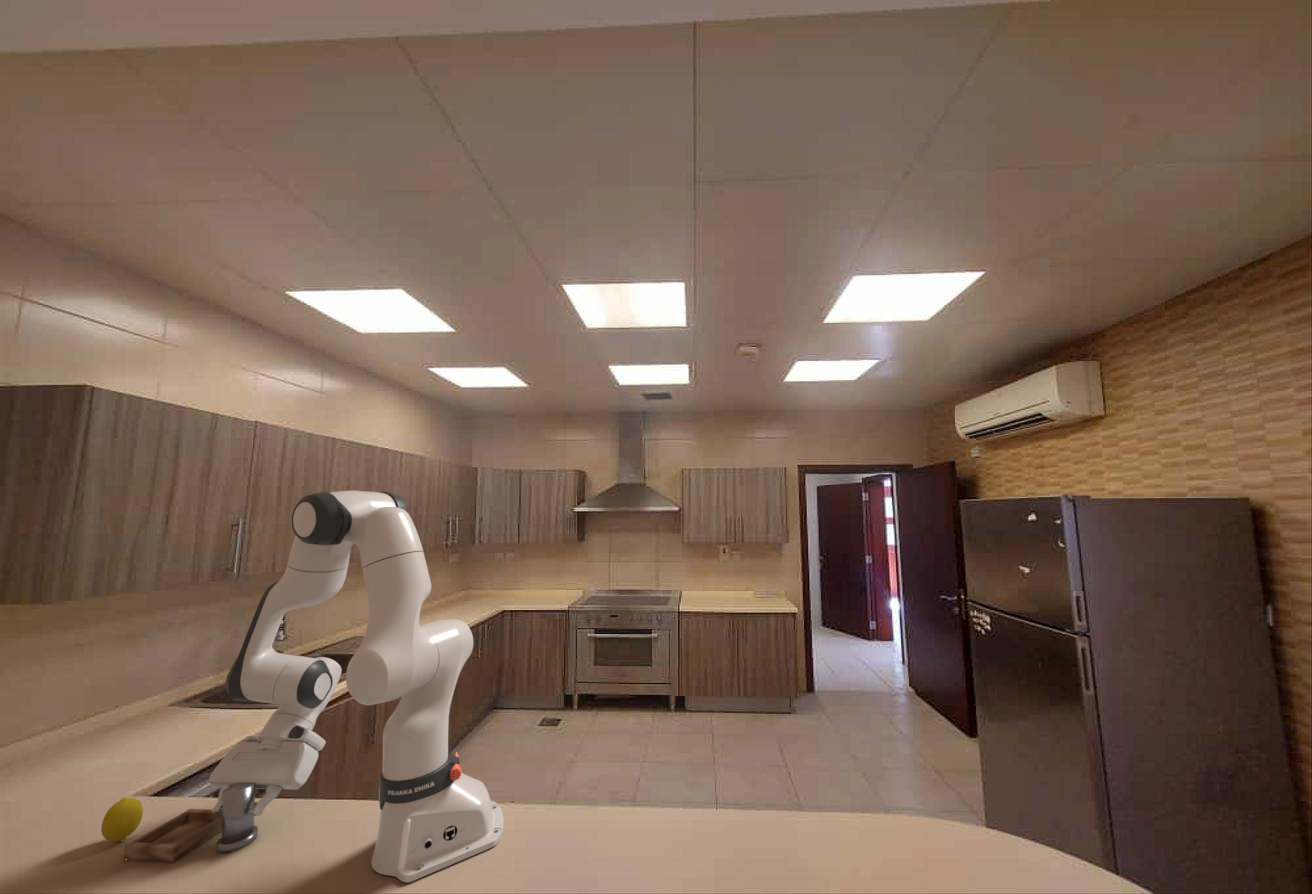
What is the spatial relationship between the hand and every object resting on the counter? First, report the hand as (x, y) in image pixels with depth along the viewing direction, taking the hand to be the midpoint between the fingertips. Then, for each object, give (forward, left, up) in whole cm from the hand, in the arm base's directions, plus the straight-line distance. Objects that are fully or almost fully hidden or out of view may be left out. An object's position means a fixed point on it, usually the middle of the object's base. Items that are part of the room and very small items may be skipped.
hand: (235, 814), depth 92 cm
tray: (+11, -7, -5) cm, 14 cm away
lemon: (+23, -13, -6) cm, 27 cm away
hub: (0, -1, -5) cm, 5 cm away
